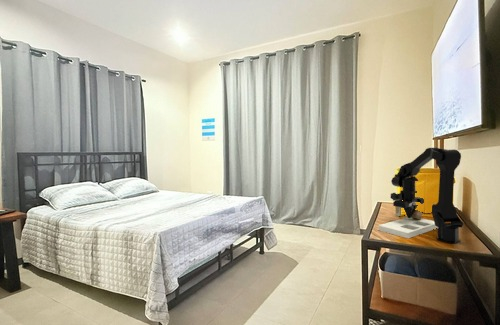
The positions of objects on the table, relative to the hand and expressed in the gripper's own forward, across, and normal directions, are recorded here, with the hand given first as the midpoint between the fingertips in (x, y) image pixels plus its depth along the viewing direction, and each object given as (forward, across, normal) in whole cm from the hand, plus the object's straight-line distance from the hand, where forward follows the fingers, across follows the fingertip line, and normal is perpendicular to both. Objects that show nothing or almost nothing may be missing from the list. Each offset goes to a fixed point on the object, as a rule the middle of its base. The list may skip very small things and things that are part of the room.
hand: (409, 218), depth 134 cm
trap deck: (+4, +6, +4) cm, 8 cm away
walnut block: (0, -2, +1) cm, 3 cm away
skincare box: (+4, -14, -12) cm, 19 cm away
